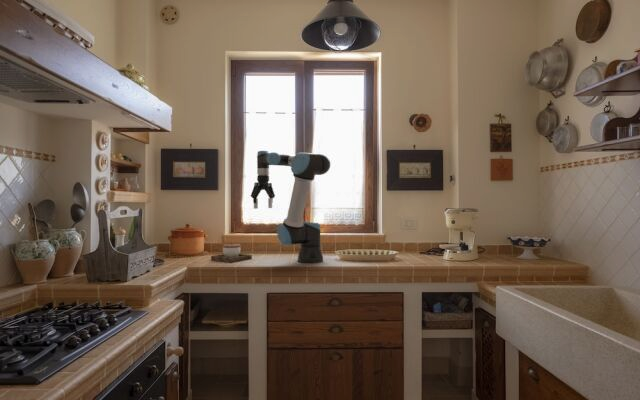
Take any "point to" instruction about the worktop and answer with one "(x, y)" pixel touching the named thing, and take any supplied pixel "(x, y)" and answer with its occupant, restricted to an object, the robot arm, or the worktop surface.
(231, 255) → the lidded jar
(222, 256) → the walnut tray
